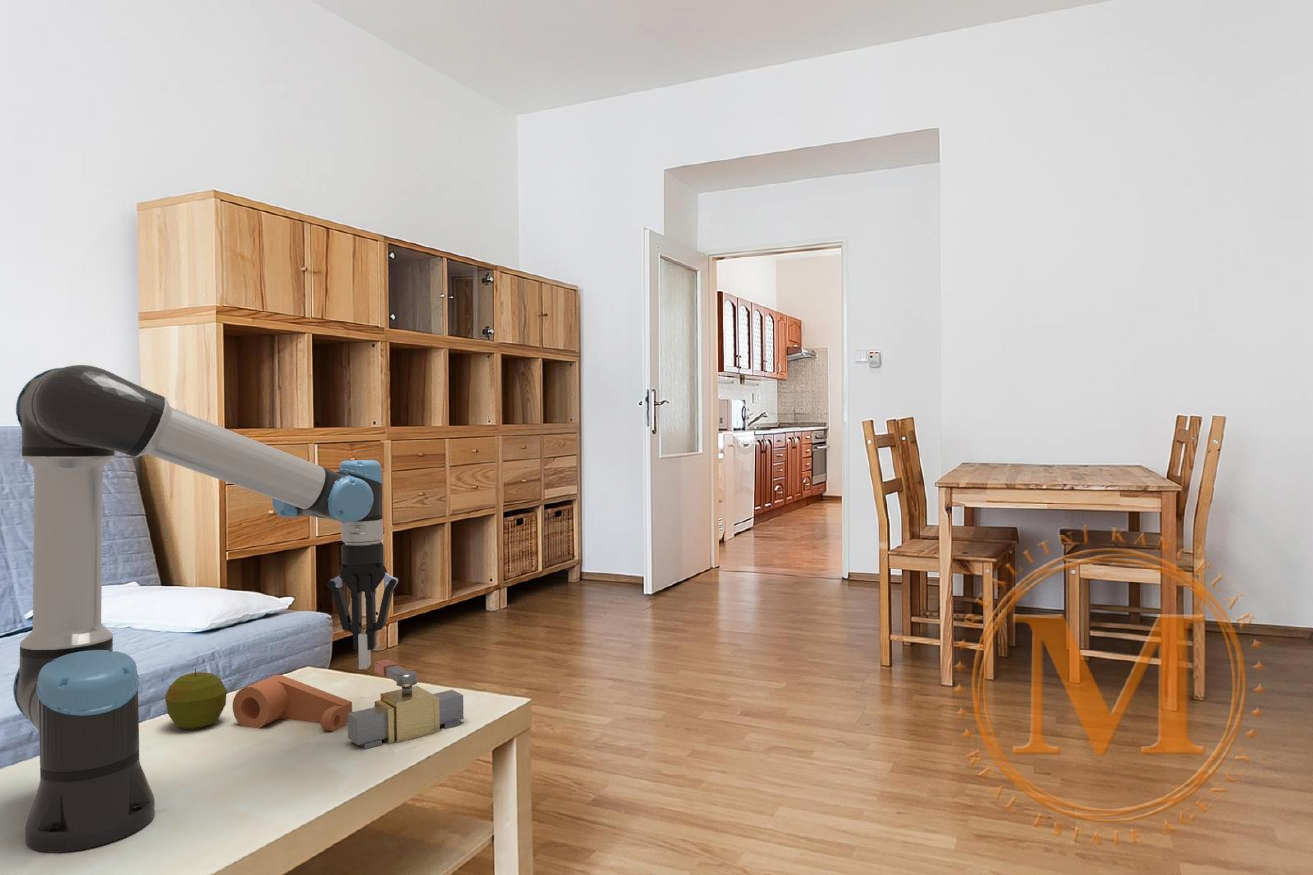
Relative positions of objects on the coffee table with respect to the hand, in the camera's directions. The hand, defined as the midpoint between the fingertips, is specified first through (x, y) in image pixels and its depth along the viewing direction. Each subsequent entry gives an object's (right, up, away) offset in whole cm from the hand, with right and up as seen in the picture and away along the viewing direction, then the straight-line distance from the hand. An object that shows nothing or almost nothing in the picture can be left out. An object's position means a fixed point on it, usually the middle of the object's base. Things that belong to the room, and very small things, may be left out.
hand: (364, 666), depth 165 cm
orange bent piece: (-13, -11, -1) cm, 17 cm away
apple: (-31, -11, -2) cm, 32 cm away
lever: (+7, -1, -3) cm, 7 cm away
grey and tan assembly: (+10, -10, -7) cm, 16 cm away
